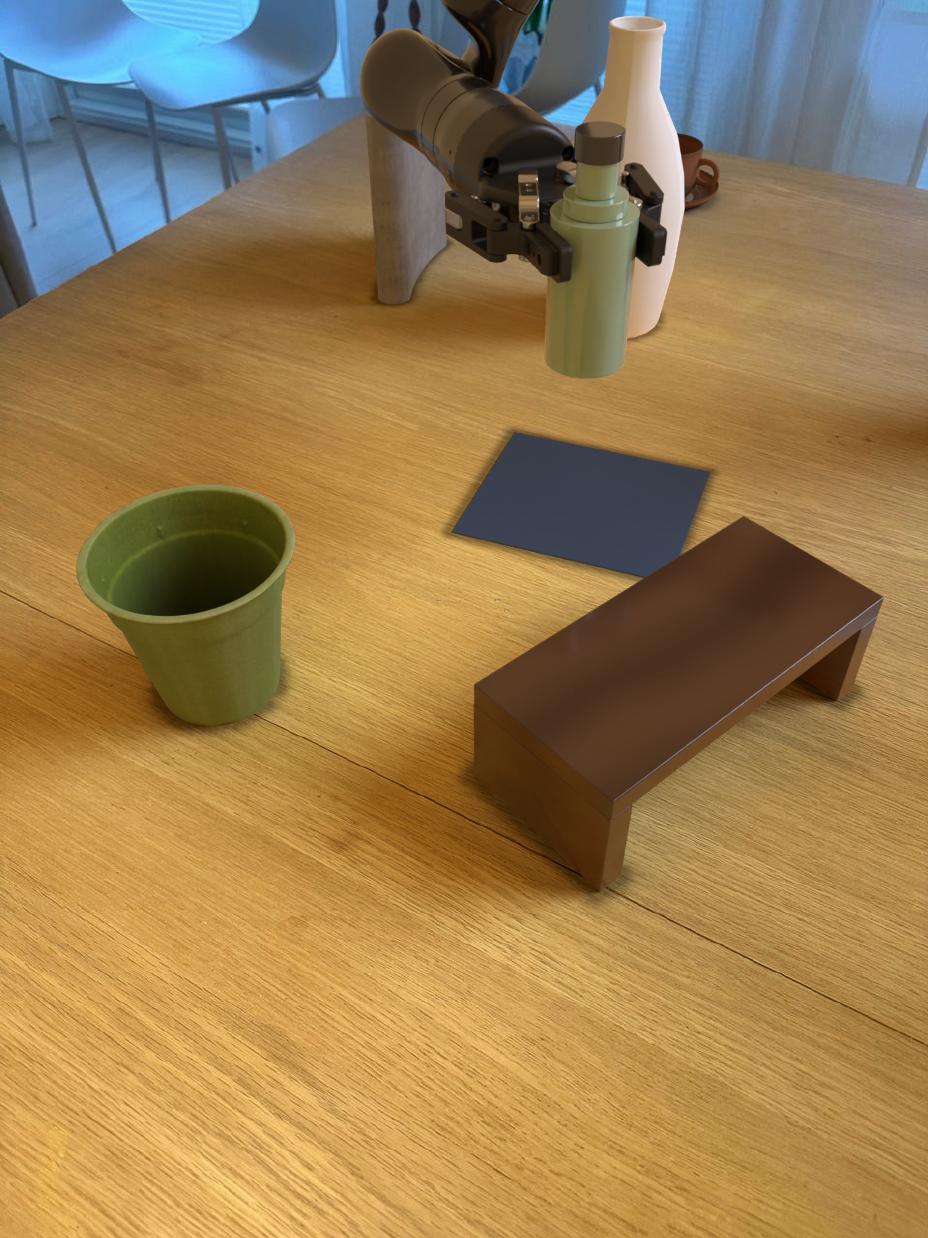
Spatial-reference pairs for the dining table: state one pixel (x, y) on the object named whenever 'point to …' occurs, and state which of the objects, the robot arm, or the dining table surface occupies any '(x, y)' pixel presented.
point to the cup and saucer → (697, 172)
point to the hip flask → (403, 212)
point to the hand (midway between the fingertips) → (612, 257)
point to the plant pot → (196, 594)
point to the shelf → (660, 684)
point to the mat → (585, 505)
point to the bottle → (644, 146)
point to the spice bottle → (593, 260)
